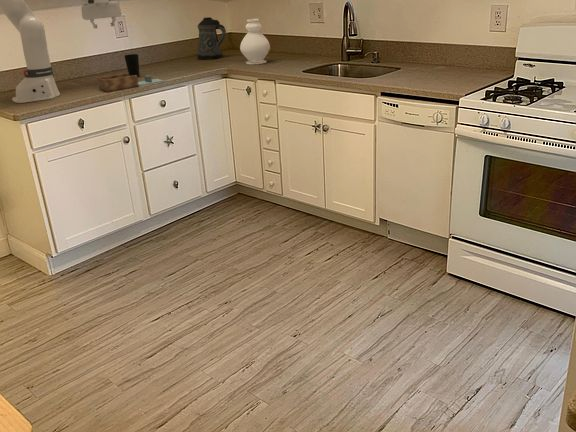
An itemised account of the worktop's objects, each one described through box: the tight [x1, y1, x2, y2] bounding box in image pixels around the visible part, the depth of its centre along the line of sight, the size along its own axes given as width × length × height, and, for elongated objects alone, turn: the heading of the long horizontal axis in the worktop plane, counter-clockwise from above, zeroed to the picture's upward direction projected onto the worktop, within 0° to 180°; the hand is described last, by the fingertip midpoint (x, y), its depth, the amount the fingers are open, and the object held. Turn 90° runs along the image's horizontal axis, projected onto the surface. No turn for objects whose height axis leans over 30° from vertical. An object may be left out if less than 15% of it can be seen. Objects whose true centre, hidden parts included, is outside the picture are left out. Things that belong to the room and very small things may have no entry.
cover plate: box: [138, 75, 165, 87], centre depth 317 cm, size 14×8×4 cm, turn 128°
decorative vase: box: [239, 18, 271, 65], centre depth 355 cm, size 18×18×25 cm
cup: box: [124, 53, 141, 78], centre depth 334 cm, size 8×8×12 cm
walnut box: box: [96, 72, 140, 93], centre depth 307 cm, size 17×11×6 cm, turn 128°
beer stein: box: [196, 16, 227, 61], centre depth 382 cm, size 16×19×25 cm
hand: (104, 27), depth 310 cm, fingers open, 8 cm apart
